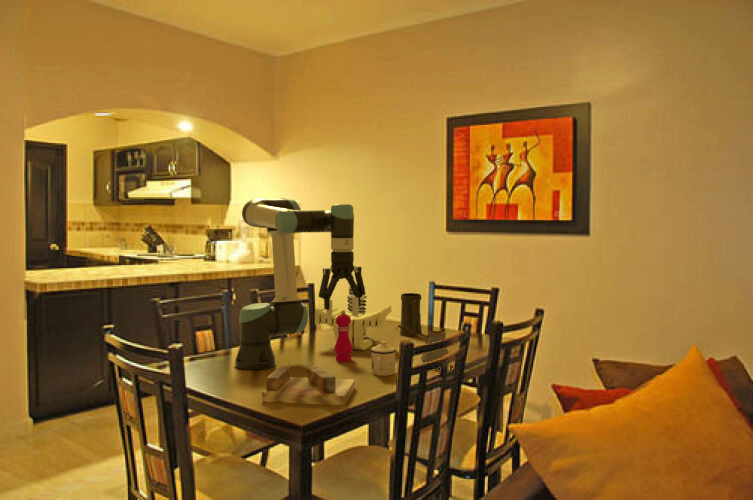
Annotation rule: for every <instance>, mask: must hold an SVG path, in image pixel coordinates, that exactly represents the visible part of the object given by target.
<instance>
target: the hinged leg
mask: <svg viewBox="0 0 753 500" xmlns="http://www.w3.org/2000/svg"><path fill="white" fill-rule="evenodd" d="M307 378H308V381H310V382H311V383H313V384H314V385H316V386H317V387H319V388H320V389H322V390H323V391H326V392H328V393H333V392H335V391H336V386H335V379H336V376H334V375H332V374H330V373H328V372H327V371H326V370H324V369H322V368H320V367H319V366H313V367H307Z"/></svg>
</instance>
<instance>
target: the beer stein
mask: <svg viewBox="0 0 753 500" xmlns="http://www.w3.org/2000/svg"><path fill="white" fill-rule="evenodd" d="M400 300H401V307H400V308H401V312H400V326H402V327H405V328H407V329H410V330H412V331H414V332H416V333H417V334H419V335H421V336H423V335H422V334H423V331H422V323H421V322H422V319H421V316H422V315H421V301H422V295H421V294H420V293H415V292H414V293H413V292H410V293H408V292H406V293H401V295H400ZM399 328H400V327H399ZM399 335H400V336H404V337H417V336H416V335H414V334H411V333H409V332H407V331H406V330H404V329H402V328H400V330H399Z"/></svg>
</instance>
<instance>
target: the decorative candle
mask: <svg viewBox="0 0 753 500" xmlns="http://www.w3.org/2000/svg"><path fill="white" fill-rule="evenodd" d="M356 285H357V283H356ZM364 288H365V289H366V287H365V286H364ZM352 297H355V296H354V293H353V291H352V289H351V287H350V286H349V287H348V295H347V297H346V298H347V310H348V311H347V312H349V313H352ZM366 299H367V296H366V294H365V295H362V297H360V306H358V314H363V315H364V314H367V313H366V310H367V308H366V306H367V302H368V301H367V300H366ZM366 331H367V330H365V332H364V335H363V339H366V337H367V336H366V334H367V332H366Z"/></svg>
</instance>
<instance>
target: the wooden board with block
mask: <svg viewBox="0 0 753 500" xmlns="http://www.w3.org/2000/svg"><path fill="white" fill-rule="evenodd" d="M290 369H291V367H290V366H278V367H277V368H276V369H275V370H273V371H272V373H270V374H269V375H268V376H267V377H266V378H265V379H266V380H265V382H266V383H265V384H266V387H265V389H264V390H263V391H262V392H261V401H265V402H264V403H276V402H282V403H281V404H299V405H301V404H302V405H303V404H304V405H322V406H323V405H324V406H326V405H328V406H346V404H347V403H348V401H349V398H351V395H352V394H353V392H354V390H355V387H356V386H355V385H356V384H355V382H356V381H355V379H348V378H347V379H346V378H335V386H336V391H335V392H333V393H328V392H326V391H323V390H322V389H320V388H319V387H317V386H316V385H314V384H313V383H311V382H310V381H308V377H299V376H298V377H297V376H296V377H295V376H291V372H290V371H291V370H290Z"/></svg>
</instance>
